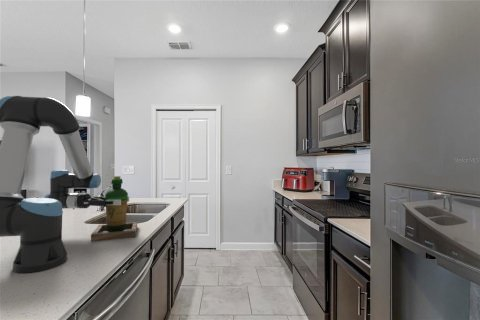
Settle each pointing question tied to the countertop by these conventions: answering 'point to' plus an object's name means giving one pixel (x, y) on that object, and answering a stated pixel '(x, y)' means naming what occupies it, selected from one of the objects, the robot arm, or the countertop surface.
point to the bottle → (116, 206)
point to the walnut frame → (103, 234)
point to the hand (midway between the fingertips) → (125, 200)
